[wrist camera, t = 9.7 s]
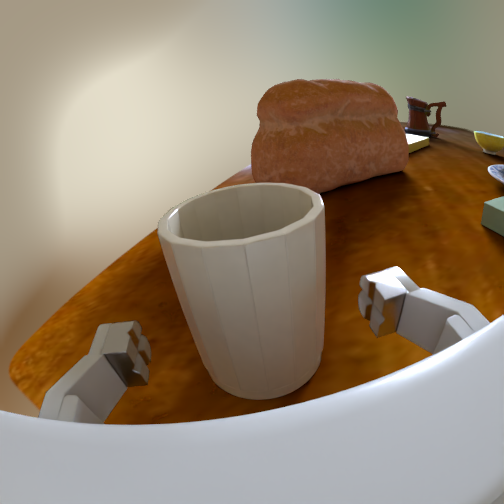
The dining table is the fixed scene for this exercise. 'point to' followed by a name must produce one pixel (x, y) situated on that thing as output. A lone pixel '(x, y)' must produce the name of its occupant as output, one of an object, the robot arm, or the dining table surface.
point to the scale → (494, 215)
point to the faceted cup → (251, 283)
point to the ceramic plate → (497, 172)
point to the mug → (422, 117)
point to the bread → (327, 134)
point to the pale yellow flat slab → (416, 142)
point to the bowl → (489, 142)
